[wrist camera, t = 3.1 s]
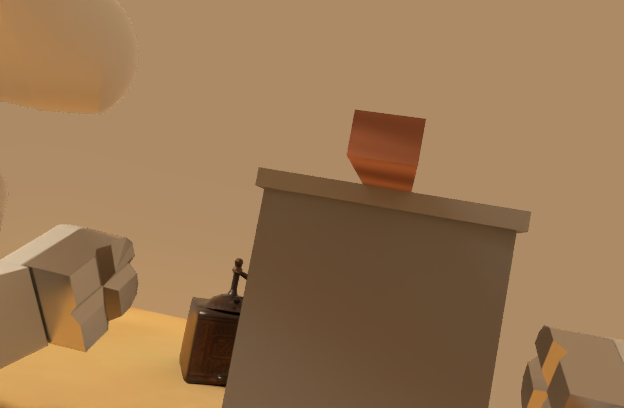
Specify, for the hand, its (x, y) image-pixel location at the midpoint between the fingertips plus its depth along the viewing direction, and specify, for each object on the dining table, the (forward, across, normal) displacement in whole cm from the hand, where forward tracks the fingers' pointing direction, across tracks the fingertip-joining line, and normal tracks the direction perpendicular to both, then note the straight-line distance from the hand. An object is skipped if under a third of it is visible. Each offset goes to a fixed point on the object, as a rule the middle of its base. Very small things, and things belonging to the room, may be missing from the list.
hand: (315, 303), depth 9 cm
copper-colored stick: (+22, 0, +8) cm, 24 cm away
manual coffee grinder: (+38, +19, +47) cm, 63 cm away
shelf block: (+14, 0, +32) cm, 35 cm away
